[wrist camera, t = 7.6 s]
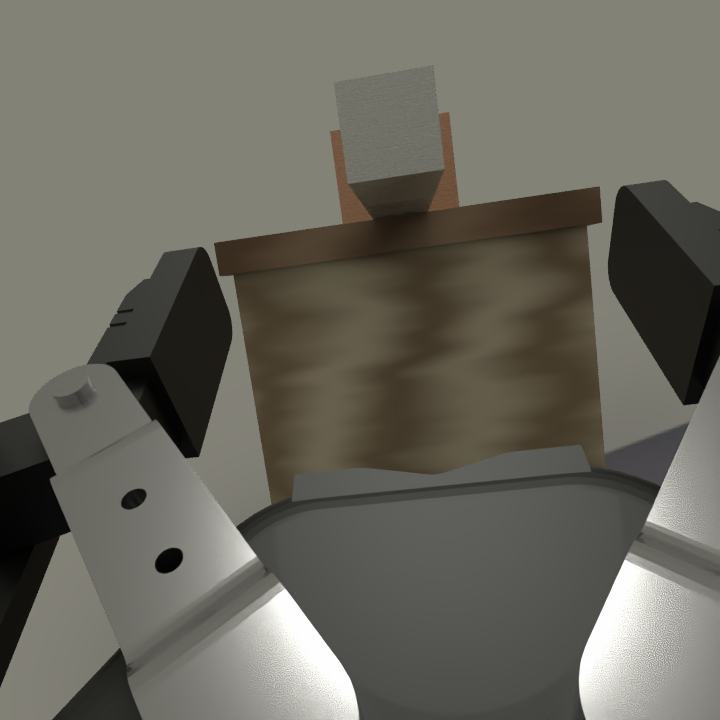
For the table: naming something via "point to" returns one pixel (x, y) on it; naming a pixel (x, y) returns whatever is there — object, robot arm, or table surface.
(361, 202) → the gray and brown block
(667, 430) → the table surface
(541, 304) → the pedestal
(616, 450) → the table surface
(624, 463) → the table surface
